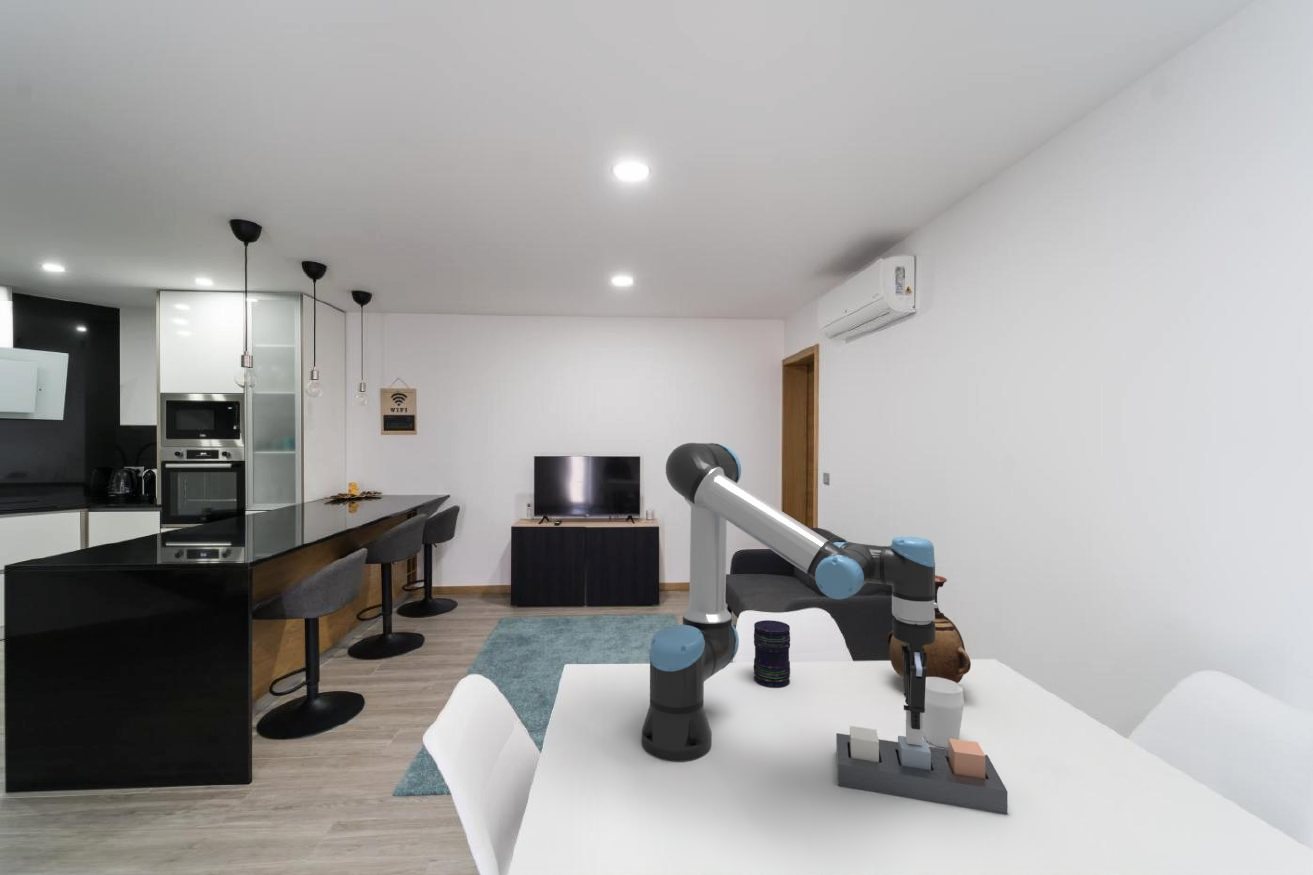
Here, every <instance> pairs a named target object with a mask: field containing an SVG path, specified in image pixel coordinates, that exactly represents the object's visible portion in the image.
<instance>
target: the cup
mask: <svg viewBox="0 0 1313 875" xmlns="http://www.w3.org/2000/svg"><path fill="white" fill-rule="evenodd" d="M964 706H965V699H964V688H963V686H962V685H960V684H959V683H956V682H954V681H951V680H948V679H944V678H939V677H926V686H925V712H924V713H922V721H923V739H926V741H927V743H929V744H931V745H933V746H936V747H938V748H943V749H949V738H950V739H958V740H960V738H959V737H960V733H961V732H960V731H961V726H962V718H963V712H964Z"/></svg>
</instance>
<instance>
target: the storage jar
mask: <svg viewBox="0 0 1313 875" xmlns="http://www.w3.org/2000/svg"><path fill="white" fill-rule="evenodd" d="M753 625H754V626H753V627H754V628H753V629H754V630H753V631H754V632H753V645H754V658H753V674H754V676H753V681H754V682H755V683H756V684H757V685H759V686H762V687H765V688H771V689H780V688H785V687H788V686H789V685H790V683H791V682H790V681H791V679H790V676H791V675H790V674H791V662H790V648H791V633H790V631H791V630H790V629H791V626H790V625H789V624H788V623H785V622H783V621H778V620H772V619H771V620H770V619H766V620H759V621H756V622H754V624H753Z"/></svg>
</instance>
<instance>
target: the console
mask: <svg viewBox="0 0 1313 875" xmlns="http://www.w3.org/2000/svg"><path fill="white" fill-rule="evenodd" d="M835 734H836V737H835V738H836V740H835V741H836V750H835V751H836V768H837V785H838V787H842V788H848V789H849V788H850V789H853V790H854V789H855V790H859V791H866V792H872V793H878V794H884V795H890V796H896V797H902V798H907V799H908V798H909V799H913V800H918V801H920V800H921V801H926V802H932V803H938V804H943V805H949V806H953V807H954V806H956V807H960V808H967V809H973V810H979V811H984V812H990V813H995V814H1001V815H1002V814H1003V815H1009V814H1008V808H1009V807H1008V806H1009V805H1008V803H1009V802H1008V789H1007V788H1006V785H1005V784H1004V783H1003V780H1002V778H1000V775H999V773H998V772H997V770H996V768H995V767H994V764H993V763H992V761H991V759H990V757H989V756H988V754H984V755H985V779H983V778H977V777H970V776H964V775H957V774H952V771H951V769H950V766H949V748H943V747H937V746H936V747H934V746H929V745H928V747H929V749H930V752H931V770H925V769H919V768H912V767H906V766H899V762H898V741H893V740H887V739H879V738H878V740H879V762H874V761H867V760H861V759H854V758H851V757H850V734H845V733H844V734H843V733H835Z"/></svg>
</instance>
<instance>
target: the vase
mask: <svg viewBox="0 0 1313 875" xmlns="http://www.w3.org/2000/svg"><path fill="white" fill-rule="evenodd" d="M947 581H948V580H947V578H946V577H944V576H941V575H936V574H935V603H937V604H938V590H939V588H943V587H944V584H945V583H946V582H947ZM934 610H935V619H934V620H933V622H934V623H935V642H934V643H932V644H929V645H927V644H926V645H924V646H923V647H922V648H924V652H926V655H927V662H926V663H925V667H927V674H926V677H939V678H944V679H948V680H951V681H954V682H956V683H958V684H959V683H960V682H961V680H962V679H963V677H964V676H965V675H966V674H968V673H969V672H970V670H971V664H972V663H971V659H970V657H969V655H968V653H967V652H966V648H965V643H964V640H963V637H962V635H961V632H960V630H959V629H958V627H957V626H956V625H955V623H954V622H953V621H952V620H951V619H949V618H948V616H945V614H944V613H943V612H941V610H940V608H939V607H938V608H934ZM886 638H887V639H886V640H887V641H886V642H887V644H888V647H889V659H890V664H891V667H892V668H893V670H894V671H895V673H896V674H897V675H898V676H900V677H901V678H903V679H904V671H903V655H902V652H901V646H902V644H904V645H905V642H901V641H899V640H897V639H896V638H894V636H893V634H892V630H891V631H890V632H889V633H888V634H887V637H886Z"/></svg>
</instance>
